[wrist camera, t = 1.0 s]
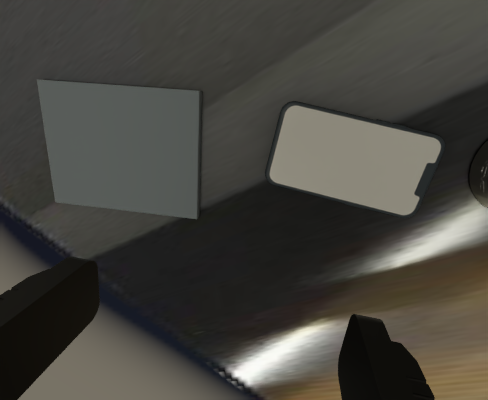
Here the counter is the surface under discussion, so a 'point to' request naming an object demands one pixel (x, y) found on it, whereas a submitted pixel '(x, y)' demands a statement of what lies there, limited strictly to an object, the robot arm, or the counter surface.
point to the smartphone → (353, 159)
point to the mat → (124, 146)
